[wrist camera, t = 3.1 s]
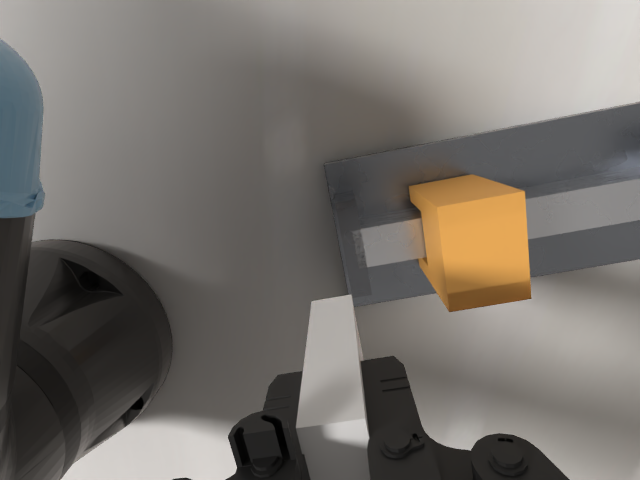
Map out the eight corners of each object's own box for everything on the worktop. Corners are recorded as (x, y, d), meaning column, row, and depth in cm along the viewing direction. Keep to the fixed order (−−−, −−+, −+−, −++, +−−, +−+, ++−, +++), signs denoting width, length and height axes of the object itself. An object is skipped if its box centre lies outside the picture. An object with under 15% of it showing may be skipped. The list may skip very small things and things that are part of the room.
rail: (350, 301, 29) (357, 364, 21) (324, 163, 26) (321, 177, 19) (700, 242, 27) (846, 287, 19) (708, 88, 25) (882, 69, 17)
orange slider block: (419, 265, 27) (449, 312, 20) (408, 186, 25) (436, 207, 19) (480, 255, 26) (531, 298, 20) (472, 174, 25) (525, 191, 18)
